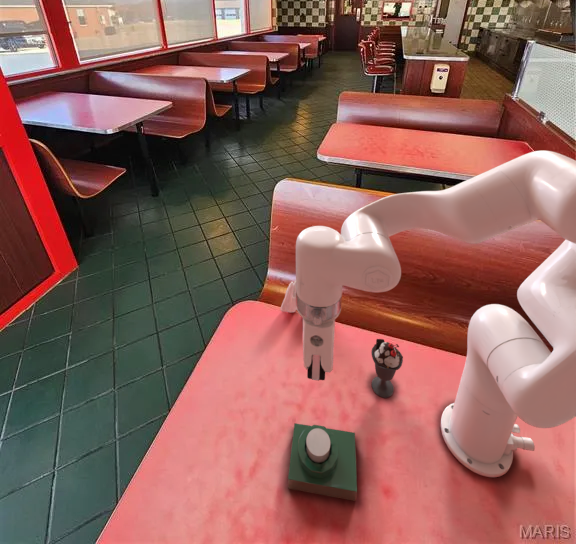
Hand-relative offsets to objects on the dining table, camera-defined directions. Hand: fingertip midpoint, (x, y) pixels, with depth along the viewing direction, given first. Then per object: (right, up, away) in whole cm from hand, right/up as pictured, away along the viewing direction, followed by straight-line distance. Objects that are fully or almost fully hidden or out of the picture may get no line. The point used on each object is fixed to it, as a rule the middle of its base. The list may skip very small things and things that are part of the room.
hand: (316, 375), depth 61 cm
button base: (+1, -18, +2) cm, 18 cm away
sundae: (+17, -13, +15) cm, 26 cm away
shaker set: (-1, -5, +35) cm, 36 cm away
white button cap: (0, -14, 0) cm, 14 cm away
